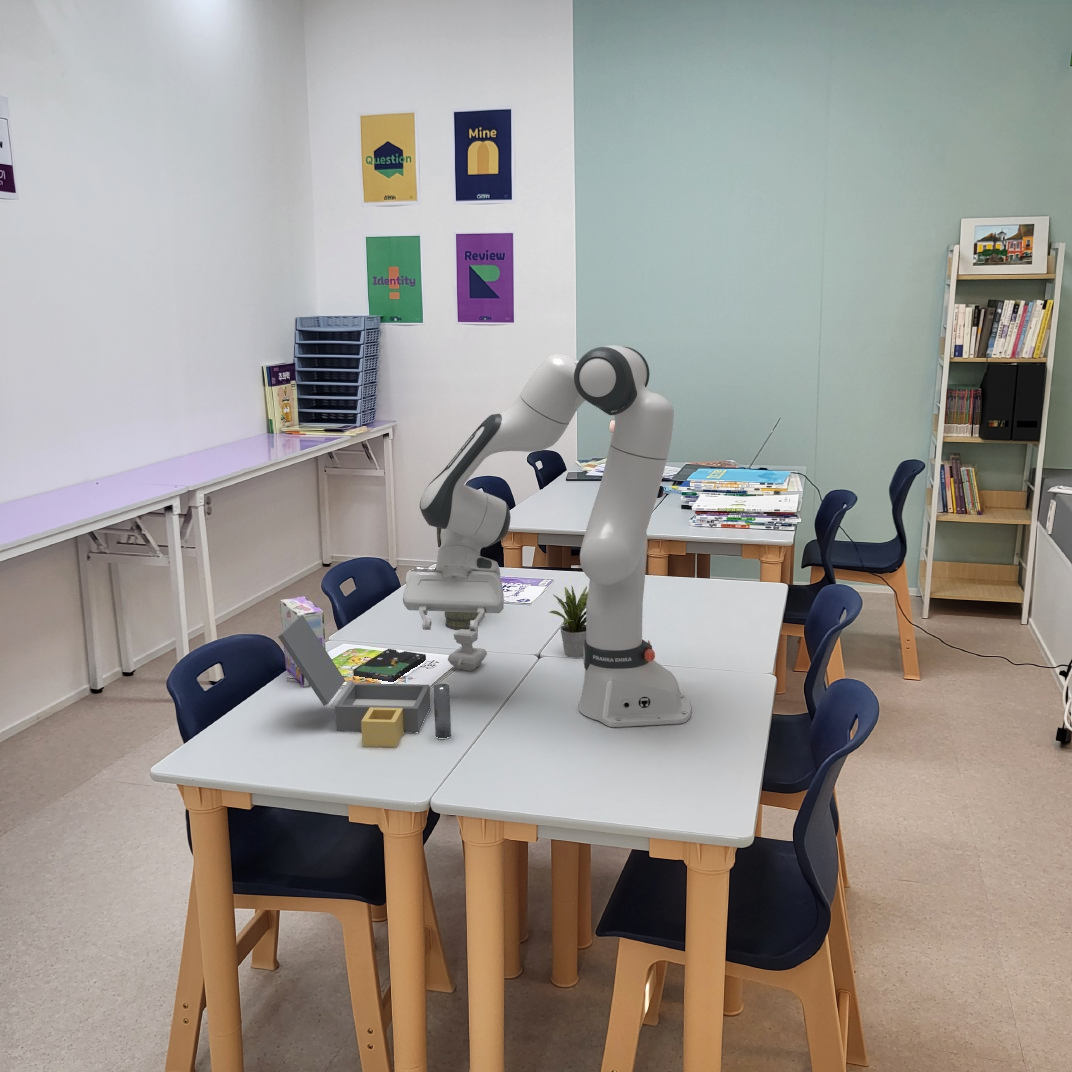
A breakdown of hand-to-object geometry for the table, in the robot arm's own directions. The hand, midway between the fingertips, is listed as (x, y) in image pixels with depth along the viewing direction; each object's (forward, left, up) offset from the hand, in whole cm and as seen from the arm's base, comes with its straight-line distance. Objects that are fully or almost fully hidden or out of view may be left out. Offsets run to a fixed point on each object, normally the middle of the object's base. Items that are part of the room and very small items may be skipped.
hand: (449, 629), depth 195 cm
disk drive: (+18, -21, -18) cm, 33 cm away
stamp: (+1, -24, -17) cm, 30 cm away
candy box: (+36, -17, -17) cm, 43 cm away
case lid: (+26, +5, -5) cm, 27 cm away
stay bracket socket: (+11, +14, -17) cm, 25 cm away
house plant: (-23, -33, -17) cm, 44 cm away
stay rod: (0, +12, -17) cm, 21 cm away
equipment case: (+13, +5, -17) cm, 22 cm away
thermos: (+7, -54, -17) cm, 57 cm away
